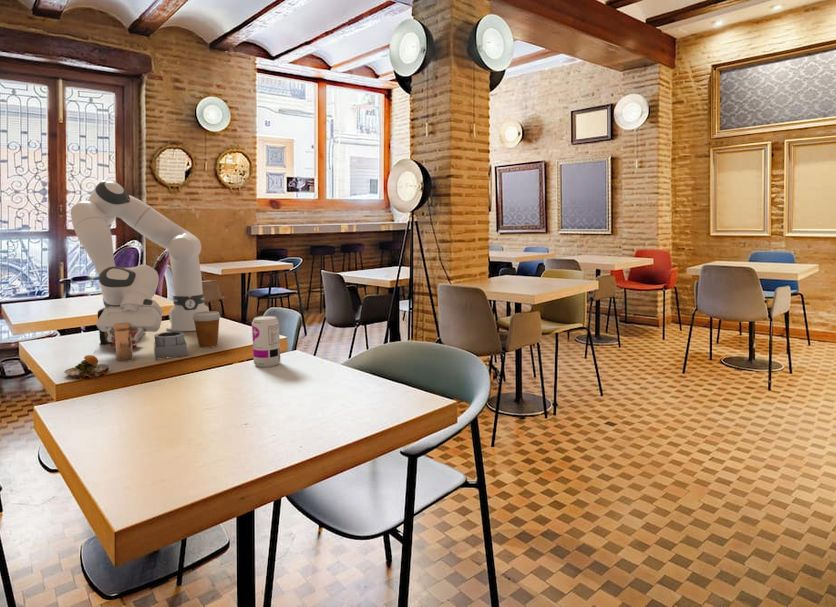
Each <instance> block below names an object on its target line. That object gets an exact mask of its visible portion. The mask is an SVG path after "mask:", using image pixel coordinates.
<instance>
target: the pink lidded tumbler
mask: <svg viewBox="0 0 836 607" xmlns="http://www.w3.org/2000/svg"><path fill="white" fill-rule="evenodd" d="M113 330H114V334H115V345H116V346H115V355H116V361H117V362H119V361H124V362H130V361H132V359H133V360H134V355H133V354H134V353H133V348H132V340H131V324H130V323H117V324H114V326H113ZM129 360H130V361H129Z"/></svg>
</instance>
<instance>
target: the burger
mask: <svg viewBox="0 0 836 607" xmlns="http://www.w3.org/2000/svg"><path fill="white" fill-rule="evenodd" d="M95 353H96V351H94V353H93V355H92V354H88V355H87V354H86V355H84V356H83V358H84V359H83V360H81V361H80V363H77V365H75V366H74V367H71V368H68V369H66V370H65V371H64V373H65V374H66V375H69V377H75V379H76V380H84V379H85V377H89V378H91V379H95V378H98V377H99V376H101V375H107V374H108V372H109V373H110V366H109V365H108V364H107V365H106V364H101V363H100V364H99V359H98V357H96V355H94V354H95Z"/></svg>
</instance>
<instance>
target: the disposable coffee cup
mask: <svg viewBox="0 0 836 607" xmlns="http://www.w3.org/2000/svg"><path fill="white" fill-rule="evenodd" d="M192 318H193V320H194V323H195V328H196V331H195V332H196V337H197V343H198V347H199V348H202V347H209V348H213V347H212V346H215V347H217V346H218V341H219V328H220V327H219V326H220V319H221V315H220V312H219V311H214V310H213V311H212V310H209V311H205V312H197V313H194V315H193V317H192ZM216 345H217V346H216Z"/></svg>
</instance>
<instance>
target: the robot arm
mask: <svg viewBox="0 0 836 607" xmlns="http://www.w3.org/2000/svg"><path fill="white" fill-rule="evenodd" d="M70 217H71V218H70V219H71V223H72V227H73V230H74V232H75V235H76V238H77V239H78V241H79V243H80V245H81V246H82V248H83V249H84V250H85V252H86V255H88V257H89V259H90V260H91V261H92V264H93V266H94V267H95V269H96V271H97V274H98V281H99V285H100V286H99V287H100V290H101V295H102V301H103V302H102V303H103V306H104V307H106V309H104V311H103V313H102V314H101V316H100V317H99V319H98V318H97V321H96V323H95V324H96V327H97V329H98V330H99V329H100V331H102V332H107V333H108V338H107V341H108V342H114V340H115V337H114V336H113V335H112V334H114V330H113V326H114V324H117V323H130V324H131V332H137V333H136V334H135V335H132V338H131V340H132V342H137V343H138V342H139V341H138V340H140V339H141V338H142V336H143V335H145V333H147V332H148V333H151V332H153V333H155V332H157V331H159V330H160V328H161V325H162V321H163V320H162V319H163V317H162V315H163V314H164V313H163V309H162V307H161V306H160V304H159V303H158V302H157V301H156V300H153V297H154V296H155V295H156V291H157V288H158V285H159V280H160V279H159V278H160V276H159V273H158V271H157V270H156V269H155V268H153V267H151V266H150V265H148V264H139V265H136V266H134V267H133V266H132V267H120V266H116V262H115V257H114V255H115V254H114V246H113V236H112V230H111V226H112V224H113V222H114V221H115V220H116V219H117V218H119V219H121V220H122V221H123V222H124V223H126V225H128V226H129V227H130V228H132V229H133V230H135V231H136V232H137V233H139V234H140V235H142V236H143V237H145V238H146V239H148V240H150V241H151V242H152V243H155V244H157V245H158V246H159V247H162V248H163V249H165V250H166V251H168V256H169V262H170V268H171V273H172V284H173V295H172V302H173V306H172V307H171V309H169V310H170V311H169V313H168V318H169V324H168V325H167V326H166V328H165V329H166V331H169V332H173V331H174V332H175V331H176V332H196V328H195V323H194V320H193V318H192V317H193V315H194V313H197V312H205V311H210V310H209V307H208V306H207V305H206V304H205V295H204V293H203V277H202V272H201V265H200V264H201V263H200V257H199V255H200V254H201V253H202V252H201V251H202V243H201V240H200V239H199V238H198V237H197V236H196V235H194V234H192V233H191V232H190V231H188V230H187V229H185V228H183V227H182V226H180V225H179V224H177V223H176V222H174V221H172V220H171V219H169V218H168V217H166V216H165V215H163V213H160V212H159V211H157V210H156V209H155V208H153V207H152V206H150V205H149V204H147V203H146V202H144V201H142V200H140V199H139V198H137V197H135V196H133V195H130V194H129V193H128V192H127V190H126V188H125V187H124V186H122V184H120V183H118V182H117V181H115V180H111V179H102V181H100V182H99V183H98V184H97V185H96V186H95V189H94V190H93V191H92V192H91V194H90V196H89V197H88V199H87V201H86V200H85V201H79V202H76V203H75V204H74V205H73V206H72V207H71V209H70ZM140 337H141V338H140ZM139 338H140V339H139Z"/></svg>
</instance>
